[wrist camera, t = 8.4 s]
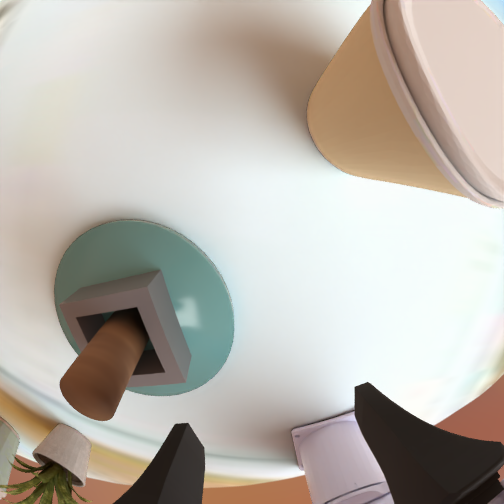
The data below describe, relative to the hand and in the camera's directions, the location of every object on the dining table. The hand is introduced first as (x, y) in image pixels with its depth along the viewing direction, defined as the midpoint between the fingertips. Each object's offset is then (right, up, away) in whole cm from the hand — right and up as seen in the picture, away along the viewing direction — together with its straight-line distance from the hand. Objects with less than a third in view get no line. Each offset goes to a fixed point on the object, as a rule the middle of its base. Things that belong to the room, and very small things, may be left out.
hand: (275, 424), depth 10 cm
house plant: (-25, -16, +12) cm, 32 cm away
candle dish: (-9, +3, +8) cm, 13 cm away
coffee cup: (+6, +16, +6) cm, 18 cm away
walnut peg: (-9, +2, +7) cm, 12 cm away
